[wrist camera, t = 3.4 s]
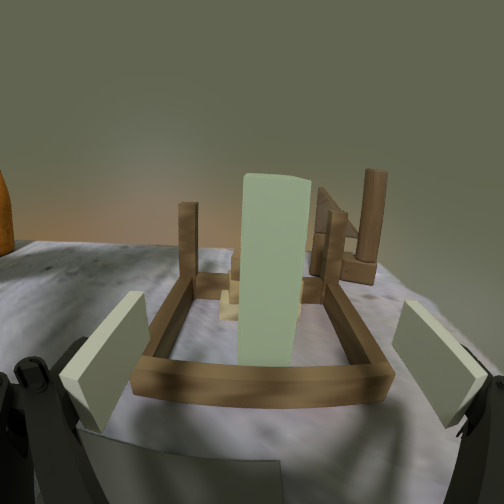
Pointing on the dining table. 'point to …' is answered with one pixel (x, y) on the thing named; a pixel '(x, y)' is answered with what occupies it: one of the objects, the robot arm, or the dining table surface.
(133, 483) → the felt mat
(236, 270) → the walnut offcut
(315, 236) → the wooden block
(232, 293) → the oak offcut
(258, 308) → the sage block
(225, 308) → the pine offcut
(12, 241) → the wine bottle
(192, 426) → the dining table surface
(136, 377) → the rack
